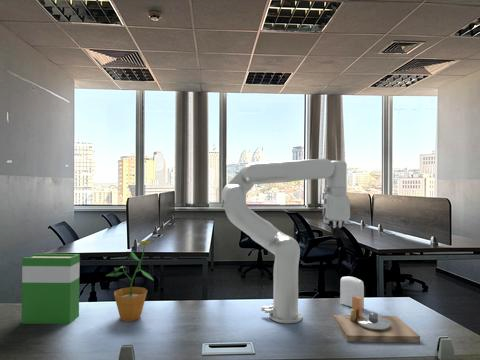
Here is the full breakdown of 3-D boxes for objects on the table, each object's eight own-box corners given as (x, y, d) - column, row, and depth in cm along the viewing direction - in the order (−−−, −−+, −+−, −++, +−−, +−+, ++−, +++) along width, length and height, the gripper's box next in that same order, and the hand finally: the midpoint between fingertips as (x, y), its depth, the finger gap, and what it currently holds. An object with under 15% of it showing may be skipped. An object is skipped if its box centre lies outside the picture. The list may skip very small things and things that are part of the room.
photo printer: (338, 303, 153) (338, 275, 153) (344, 301, 155) (344, 273, 155) (359, 310, 145) (360, 280, 145) (365, 308, 147) (365, 278, 147)
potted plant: (159, 309, 144) (160, 236, 144) (145, 328, 125) (146, 244, 126) (116, 308, 145) (117, 235, 145) (96, 327, 126) (97, 243, 126)
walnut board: (347, 341, 116) (347, 323, 116) (333, 320, 134) (333, 304, 134) (419, 342, 116) (420, 324, 116) (396, 321, 134) (396, 305, 134)
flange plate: (396, 325, 124) (396, 302, 124) (379, 333, 117) (380, 309, 117) (361, 314, 135) (361, 293, 135) (345, 321, 128) (345, 299, 128)
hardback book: (21, 323, 129) (22, 257, 129) (33, 315, 136) (34, 253, 136) (69, 323, 129) (70, 258, 129) (78, 316, 136) (79, 254, 136)
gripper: (324, 191, 135) (323, 239, 134) (358, 192, 139) (357, 238, 138) (314, 191, 142) (314, 236, 142) (347, 191, 146) (346, 235, 146)
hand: (335, 237), depth 140 cm, fingers closed
